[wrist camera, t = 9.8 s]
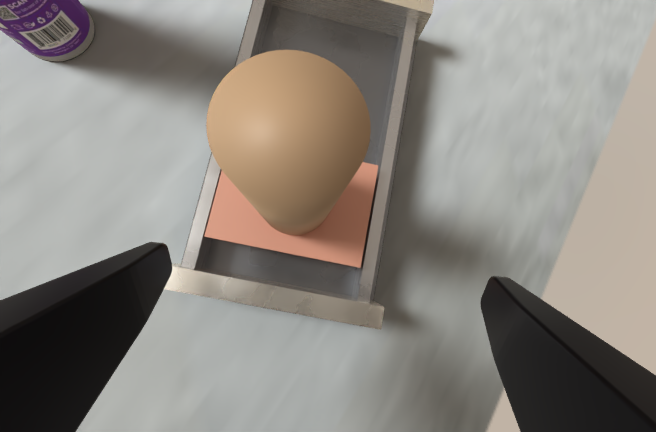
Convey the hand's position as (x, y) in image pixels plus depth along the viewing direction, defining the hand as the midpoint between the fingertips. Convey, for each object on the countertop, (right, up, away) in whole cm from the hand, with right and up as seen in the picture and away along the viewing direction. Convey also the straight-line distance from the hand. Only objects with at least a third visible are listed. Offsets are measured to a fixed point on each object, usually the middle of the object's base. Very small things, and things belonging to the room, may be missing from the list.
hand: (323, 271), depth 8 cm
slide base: (-1, +6, +13) cm, 14 cm away
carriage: (-2, +2, +11) cm, 11 cm away
